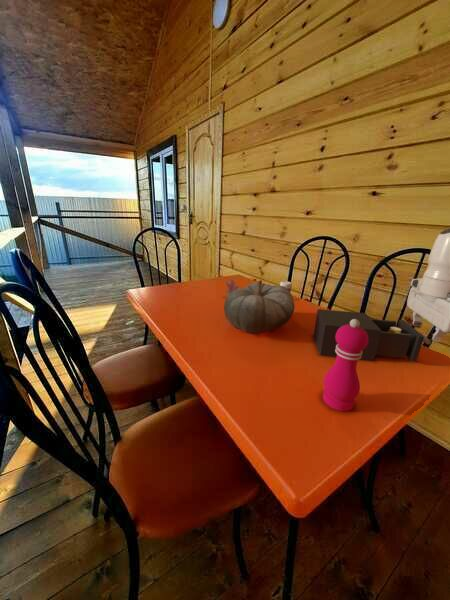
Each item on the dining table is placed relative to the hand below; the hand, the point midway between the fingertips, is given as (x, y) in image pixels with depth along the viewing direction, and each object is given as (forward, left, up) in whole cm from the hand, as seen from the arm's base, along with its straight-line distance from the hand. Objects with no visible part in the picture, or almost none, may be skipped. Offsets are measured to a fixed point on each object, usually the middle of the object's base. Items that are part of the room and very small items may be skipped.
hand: (424, 333), depth 74 cm
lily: (+62, -37, -8) cm, 73 cm away
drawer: (+8, 0, -6) cm, 10 cm away
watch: (+8, 0, -6) cm, 10 cm away
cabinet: (+22, 0, -7) cm, 23 cm away
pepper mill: (+29, +26, -8) cm, 40 cm away
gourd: (+49, -9, -8) cm, 51 cm away
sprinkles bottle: (+39, -24, -8) cm, 46 cm away
